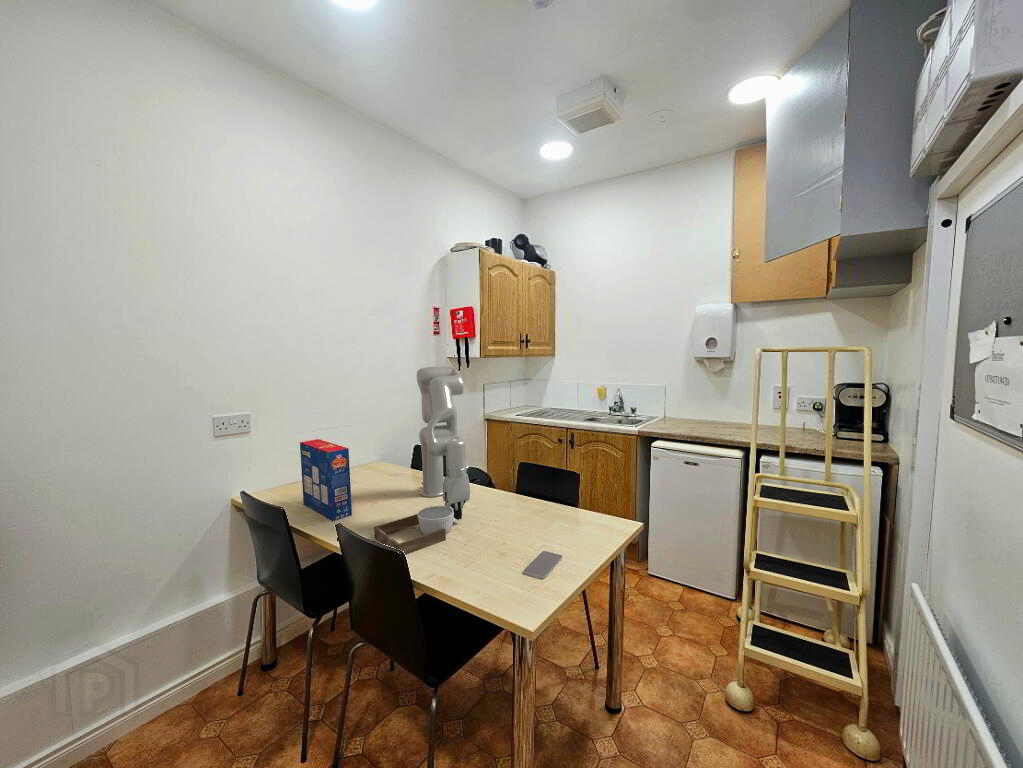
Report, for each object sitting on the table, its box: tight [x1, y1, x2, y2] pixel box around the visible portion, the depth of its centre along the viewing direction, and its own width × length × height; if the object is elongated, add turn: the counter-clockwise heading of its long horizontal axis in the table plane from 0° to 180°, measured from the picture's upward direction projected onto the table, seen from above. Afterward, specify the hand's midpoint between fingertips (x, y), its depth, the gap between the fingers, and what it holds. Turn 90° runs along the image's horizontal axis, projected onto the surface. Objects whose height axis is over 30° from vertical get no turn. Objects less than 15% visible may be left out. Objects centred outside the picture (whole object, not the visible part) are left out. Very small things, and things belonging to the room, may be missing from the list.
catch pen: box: [373, 513, 447, 555], centre depth 147 cm, size 19×18×4 cm
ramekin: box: [417, 505, 454, 535], centre depth 153 cm, size 13×13×7 cm
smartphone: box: [522, 550, 563, 580], centre depth 128 cm, size 7×1×15 cm
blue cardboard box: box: [299, 438, 353, 522], centre depth 174 cm, size 28×8×28 cm, turn 48°
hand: (457, 518), depth 159 cm, fingers closed
